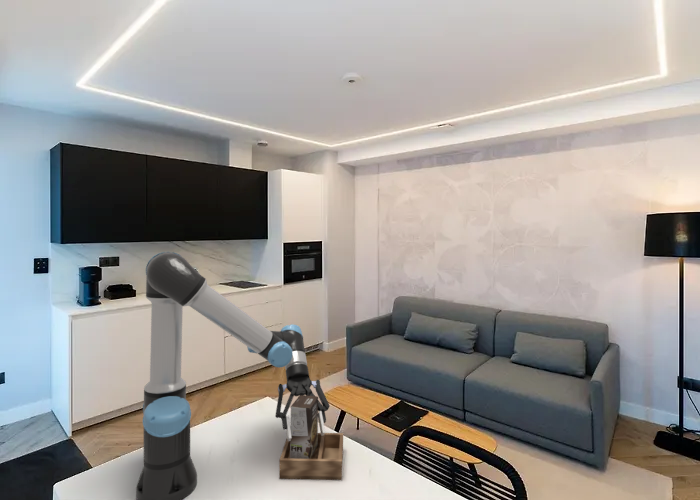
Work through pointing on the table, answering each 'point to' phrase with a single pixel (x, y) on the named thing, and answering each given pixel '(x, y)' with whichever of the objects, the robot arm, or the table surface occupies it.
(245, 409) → the table surface
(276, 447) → the table surface
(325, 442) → the caddy
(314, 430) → the coffee box
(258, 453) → the table surface
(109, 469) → the table surface
